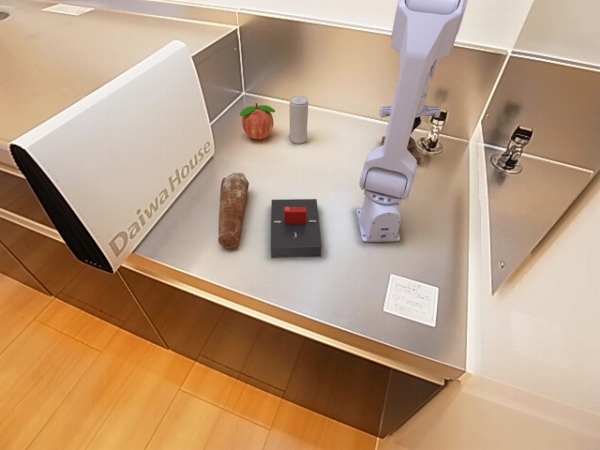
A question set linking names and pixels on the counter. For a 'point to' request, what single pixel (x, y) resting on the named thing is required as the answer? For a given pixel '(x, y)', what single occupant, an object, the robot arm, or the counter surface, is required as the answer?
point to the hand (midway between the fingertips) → (402, 140)
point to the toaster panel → (295, 230)
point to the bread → (232, 208)
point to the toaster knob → (294, 215)
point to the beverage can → (298, 119)
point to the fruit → (257, 121)
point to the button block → (409, 148)
